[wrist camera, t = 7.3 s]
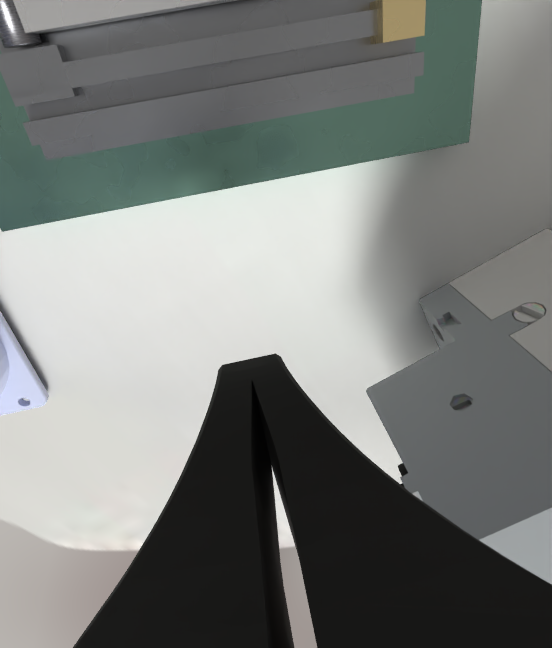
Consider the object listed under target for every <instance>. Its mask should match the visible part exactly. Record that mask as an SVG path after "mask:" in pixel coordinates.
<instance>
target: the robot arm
mask: <svg viewBox="0 0 552 648" xmlns="http://www.w3.org/2000/svg"><path fill="white" fill-rule="evenodd" d="M48 397H49V395H48V392H47V391H46V389H45V387H44V386H43V384H42V382H41V380H40V379H39V377H38V375H37V373H36V372H35V370H34V368H33V367H32V365H31V363H30V361H29V360H28V358H27V356H26V354H25V353H24V351H23V349H22V348H21V346H20V344H19V342H18V341H17V339H16V337H15V336H14V334H13V332H12V330H11V329H10V327H9V325H8V323H7V322H6V320H5V318H4V317H3V315H2V313H1V311H0V416H1V415H5V414H10V413H14V412H19V411H24V410H28V409H33V408H38V407H41V406H44V405H45V404H46V402H47V400H48ZM22 398H26V399H28V400H29V401H25V400H23V399H22ZM272 468H273V471H274V475H275V478H276V482H277V485H278V488H279V492H280V495H281V499H282V502H283V505H284V509H285V512H286V515H287V519H288V522H289V526H290V529H291V532H292V536H293V539H294V543H295V546H296V549H297V553H298V556H299V560H300V565H301V570H302V574H303V579H304V584H305V589H306V594H307V599H308V603H309V608H310V613H311V618H312V623H313V628H314V633H315V638H316V643H317V648H552V584H550V583H548V582H547V581H545V580H543V579H541V578H540V577H538V576H536V575H535V574H533V573H531V572H530V571H528V570H526V569H525V568H523V567H521V566H520V565H518V564H516V563H515V562H513V561H511V560H510V559H508V558H506V557H505V556H503V555H501V554H500V553H498V552H497V551H495V550H494V549H492V548H491V547H489V546H487V545H486V544H484V543H483V542H481V541H480V540H478V539H476V538H475V537H473V536H472V535H470V534H469V533H467V532H466V531H464V530H462V529H461V528H460V527H458V526H457V525H455V524H454V523H453V522H451V521H450V520H448V519H447V518H446V517H444V516H443V515H441V514H440V513H438V512H437V511H436V510H434V509H433V508H431V507H430V506H429V505H427V504H426V503H424V502H423V501H422V500H420V499H419V498H417V497H416V496H415V495H413V494H412V493H410V492H409V491H408V490H407V489H405V488H404V487H403V486H402V485H400V484H399V483H398V482H396V481H395V480H394V479H393V478H391V477H390V476H389V475H388V474H386V473H385V472H384V471H383V470H382V469H381V468H379V467H378V466H377V465H376V464H375V463H373V462H372V461H371V460H370V459H369V458H368V457H366V456H365V455H364V454H363V453H362V452H361V451H360V450H359V449H358V448H357V447H356V446H354V445H353V444H352V443H351V442H350V441H349V440H348V439H347V438H346V437H345V436H344V435H343V434H342V433H341V432H340V431H339V430H338V429H337V428H336V427H335V426H334V425H333V424H332V423H331V422H330V421H329V420H328V419H327V417H326V416H325V415H324V414H323V413H322V412H321V411H320V410H319V408H318V407H317V406H316V405H315V404H314V403H313V402H312V400H311V399H310V398H309V397H308V396H307V395H306V393H305V392H304V391H303V390H302V388H301V387H300V386H299V384H298V383H297V382H296V380H295V379H294V378H293V376H292V375H291V373H290V372H289V370H288V369H287V367H286V366H285V364H284V362H283V360H282V358H281V357H280V356H279V355H277V354H272V355H267V356H262V357H258V358H253V359H248V360H244V361H239V362H234V363H230V364H225V365H222V366H221V367H220V369H219V370H218V376H217V380H216V384H215V388H214V392H213V395H212V398H211V402H210V405H209V408H208V411H207V413H206V416H205V419H204V422H203V424H202V427H201V430H200V432H199V435H198V438H197V440H196V443H195V445H194V447H193V449H192V452H191V454H190V456H189V458H188V461H187V463H186V465H185V467H184V470H183V472H182V474H181V476H180V478H179V480H178V482H177V484H176V486H175V488H174V490H173V492H172V494H171V496H170V498H169V500H168V502H167V504H166V505H165V507H164V509H163V511H162V513H161V514H160V516H159V518H158V520H157V522H156V523H155V525H154V527H153V529H152V530H151V532H150V534H149V535H148V537H147V538H146V540H145V542H144V543H143V545H142V547H141V548H140V550H139V552H138V553H137V555H136V557H135V558H134V560H133V562H132V563H131V565H130V566H129V568H128V569H127V571H126V572H125V574H124V575H123V577H122V578H121V580H120V582H119V583H118V585H117V586H116V587H115V589H114V590H113V592H112V593H111V595H110V596H109V597H108V599H107V600H106V602H105V603H104V605H103V606H102V607H101V609H100V610H99V611H98V613H97V614H96V616H95V617H94V619H93V620H92V621H91V623H90V624H89V626H88V627H87V628H86V630H85V631H84V633H83V634H82V636H81V637H80V638H79V640H78V641H77V643H76V644H75V645H74V647H73V648H294V643H293V638H292V632H291V627H290V620H289V615H288V609H287V603H286V598H285V592H284V587H283V579H282V572H281V563H280V553H279V542H278V531H277V520H276V509H275V497H274V487H273V476H272Z"/></svg>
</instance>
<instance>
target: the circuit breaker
mask: <svg viewBox="0 0 552 648" xmlns="http://www.w3.org/2000/svg"><path fill="white" fill-rule="evenodd" d="M419 302H420V305H421V307H422V309H423V311H424V314H425V316H426V318H427V321H428V323H429V325H430V327H431V330H432V332H433V334H434V337H435V339H436V341H437V343H438V346H439V348H440V350H438V351H436V352H434V353H432V354H430V355H428V356H427V357H425V358H423V359H421V360H419V361H417V362H415V363H414V364H412V365H410V366H408V367H406V368H404V369H403V370H401V371H399V372H397V373H395V374H393V375H391V376H390V377H388V378H386V379H384V380H382V381H380V382H378V383H377V384H375V385H373V386H371V387H369V388H367V390H366V392H367V394H368V396H369V398H370V400H371V402H372V404H373V406H374V408H375V410H376V412H377V413H378V415H379V417H380V419H381V421H382V423H383V425H384V427H385V429H386V431H387V433H388V435H389V437H390V439H391V440H392V442H393V444H394V446H395V448H396V450H397V452H398V454H399V456H400V458H401V460H402V462H403V463H402V464H400V465H398V468H399V471H400V473H401V475H402V477H400V478H401V480H402V482H403V483H402V484H400V485H402V486H403V487H404V488H405V489H407V490H408V491H409V492H410V493H412V494H413V495H415V496H416V497H417V498H419V499H420V500H422V501H423V502H424V503H426V504H427V505H429V506H430V507H431V508H433V509H434V510H436V511H437V512H438V513H440V514H441V515H443V516H444V517H446V518H447V519H448V520H450V521H451V522H453V523H454V524H455V525H457V526H458V527H460V528H461V529H462V530H464V531H466V532H467V533H469V534H470V535H472V536H473V537H475V538H476V539H478V540H480V541H481V542H483V543H484V544H486V545H487V546H489V547H491V548H492V549H494V550H495V551H497V552H498V553H500V554H501V555H503V556H505V557H506V558H508V559H510V560H511V561H513V562H515V563H516V564H518V565H520V566H521V567H523V568H525V569H526V570H528V571H530V572H531V573H533V574H535V575H536V576H538V577H540V578H541V579H543V580H545V581H547V582H548V583H550V584H552V230H549V229H547V228H546V229H544V230H543V231H541V232H539V233H537V234H535V235H534V236H532V237H530V238H528V239H526V240H525V241H523V242H521V243H519V244H517V245H516V246H514V247H512V248H510V249H509V250H507V251H505V252H503V253H501V254H500V255H498V256H496V257H494V258H492V259H491V260H489V261H487V262H485V263H483V264H482V265H480V266H478V267H476V268H474V269H473V270H471V271H469V272H467V273H466V274H464V275H462V276H460V277H458V278H457V279H455V280H453V281H451V282H449V284H446V285H444V286H442V287H440V288H439V289H437V290H435V291H433V292H432V293H430V294H428V295H426V296H424V297H423V298H421V299H420V300H419Z"/></svg>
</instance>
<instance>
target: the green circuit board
mask: <svg viewBox="0 0 552 648" xmlns="http://www.w3.org/2000/svg"><path fill="white" fill-rule="evenodd" d="M481 4H482V0H237V1H231V2H225V3H219V4H213V5H207V6H201V7H196V8H190V9H184V10H178V11H172V12H166V13H160V14H154V15H149V16H143V17H137V18H131V19H125V20H119V21H113V22H107V23H101V24H96V25H90V26H84V27H78V28H72V29H66V30H60V31H54V32H49V33H43V34H39V37H40V39H41V42H42V43H40V44H36V45H31V46H25V47H17V48H4V46H3V44H2V41H1V39H0V228H1V230H2V231H8V230H13V229H18V228H23V227H29V226H34V225H39V224H44V223H49V222H55V221H60V220H65V219H70V218H76V217H81V216H86V215H91V214H96V213H102V212H107V211H112V210H117V209H123V208H128V207H133V206H138V205H144V204H149V203H154V202H159V201H164V200H170V199H175V198H180V197H185V196H191V195H196V194H201V193H206V192H211V191H217V190H222V189H227V188H232V187H238V186H243V185H248V184H253V183H258V182H264V181H269V180H274V179H279V178H285V177H290V176H295V175H300V174H305V173H311V172H316V171H321V170H326V169H332V168H337V167H342V166H347V165H353V164H358V163H363V162H368V161H373V160H379V159H384V158H389V157H394V156H400V155H405V154H410V153H415V152H420V151H426V150H431V149H436V148H441V147H447V146H452V145H457V144H462V143H467V142H469V135H470V124H471V113H472V102H473V91H474V80H475V70H476V59H477V48H478V37H479V26H480V15H481Z"/></svg>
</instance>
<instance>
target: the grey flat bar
mask: <svg viewBox="0 0 552 648" xmlns="http://www.w3.org/2000/svg"><path fill="white" fill-rule="evenodd" d="M231 1H237V0H0V39H1V41H2V44H3V46H4V48H17V47H25V46H31V45H36V44H40V43H42V42H41V39H40V37H39V34H43V33H49V32H54V31H60V30H66V29H72V28H78V27H84V26H90V25H96V24H101V23H107V22H113V21H119V20H125V19H131V18H137V17H143V16H149V15H154V14H160V13H166V12H172V11H178V10H184V9H190V8H196V7H201V6H207V5H213V4H219V3H225V2H231Z"/></svg>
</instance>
